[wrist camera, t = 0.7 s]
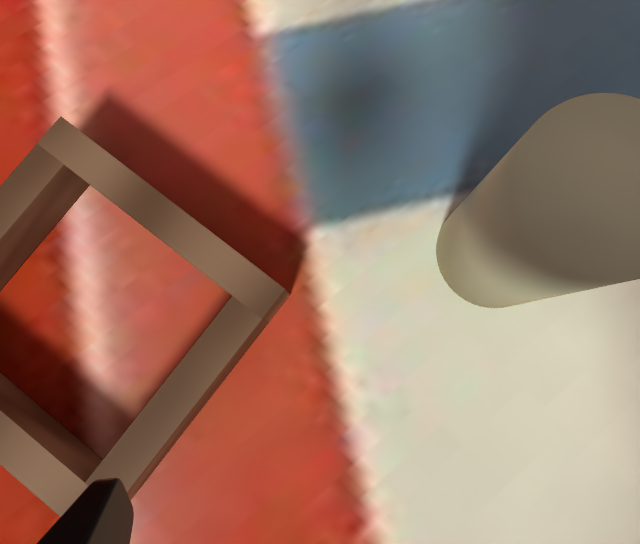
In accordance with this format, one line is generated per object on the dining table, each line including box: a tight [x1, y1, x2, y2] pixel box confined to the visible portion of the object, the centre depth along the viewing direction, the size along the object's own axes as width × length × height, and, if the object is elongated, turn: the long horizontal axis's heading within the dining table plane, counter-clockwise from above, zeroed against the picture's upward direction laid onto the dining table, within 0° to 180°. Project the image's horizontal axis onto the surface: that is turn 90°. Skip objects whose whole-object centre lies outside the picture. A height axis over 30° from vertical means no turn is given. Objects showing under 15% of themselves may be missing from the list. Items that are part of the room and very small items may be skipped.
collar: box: [0, 117, 290, 517], centre depth 22 cm, size 12×12×2 cm
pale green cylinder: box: [436, 93, 640, 308], centre depth 18 cm, size 5×5×10 cm
